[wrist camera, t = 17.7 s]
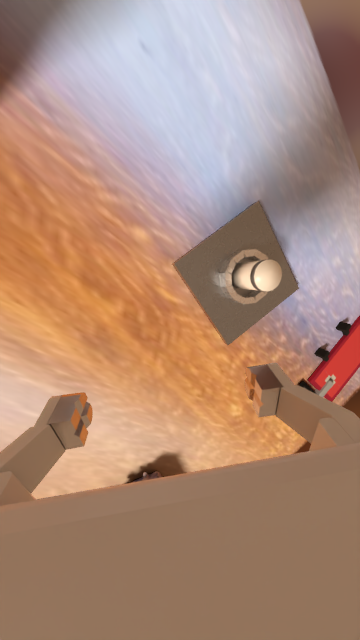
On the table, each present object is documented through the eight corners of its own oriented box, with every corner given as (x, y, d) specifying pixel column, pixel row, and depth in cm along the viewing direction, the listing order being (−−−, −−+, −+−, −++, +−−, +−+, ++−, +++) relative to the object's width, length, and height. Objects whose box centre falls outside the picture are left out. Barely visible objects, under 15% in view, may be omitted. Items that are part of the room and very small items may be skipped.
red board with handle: (279, 395, 53) (309, 420, 58) (288, 401, 50) (318, 427, 55) (353, 303, 53) (376, 336, 59) (365, 304, 51) (388, 339, 56)
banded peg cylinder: (225, 272, 40) (249, 271, 33) (245, 257, 41) (274, 252, 33) (237, 293, 42) (263, 297, 34) (257, 279, 42) (286, 279, 35)
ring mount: (172, 264, 39) (177, 263, 35) (254, 203, 41) (267, 196, 37) (224, 343, 45) (234, 349, 42) (293, 287, 47) (308, 289, 43)
